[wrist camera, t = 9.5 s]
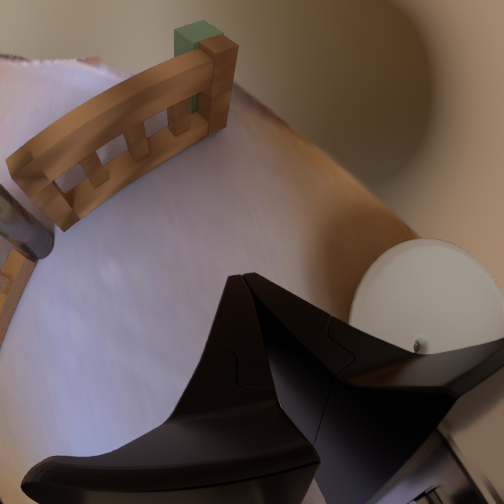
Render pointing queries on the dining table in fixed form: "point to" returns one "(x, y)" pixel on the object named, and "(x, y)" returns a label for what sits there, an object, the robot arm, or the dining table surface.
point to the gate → (127, 130)
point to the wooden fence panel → (17, 265)
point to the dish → (429, 298)
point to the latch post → (192, 44)
